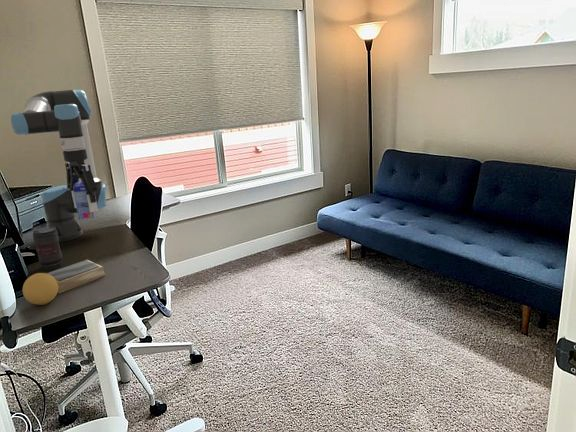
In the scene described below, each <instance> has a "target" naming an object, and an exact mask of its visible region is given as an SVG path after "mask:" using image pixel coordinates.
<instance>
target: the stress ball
mask: <svg viewBox="0 0 576 432" xmlns="http://www.w3.org/2000/svg"><path fill="white" fill-rule="evenodd" d="M48 273H49V272H36V273H33V274H32V275H30V276H29V277H28V278H27V279H26V280H25V281H24V283H23V286H22V294H23V297H24V298H25V300H27V302H29V303H30V304H33V305H40V306H44V305H48V304H49V303H50V302H51V301H53V300H54V299H55V298H56V297H57V294H58V293H59V292H58V286H59V283H58V281H57V280H56V279H55V278H54V277H53V276H52V275H51V274H48Z"/></svg>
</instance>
